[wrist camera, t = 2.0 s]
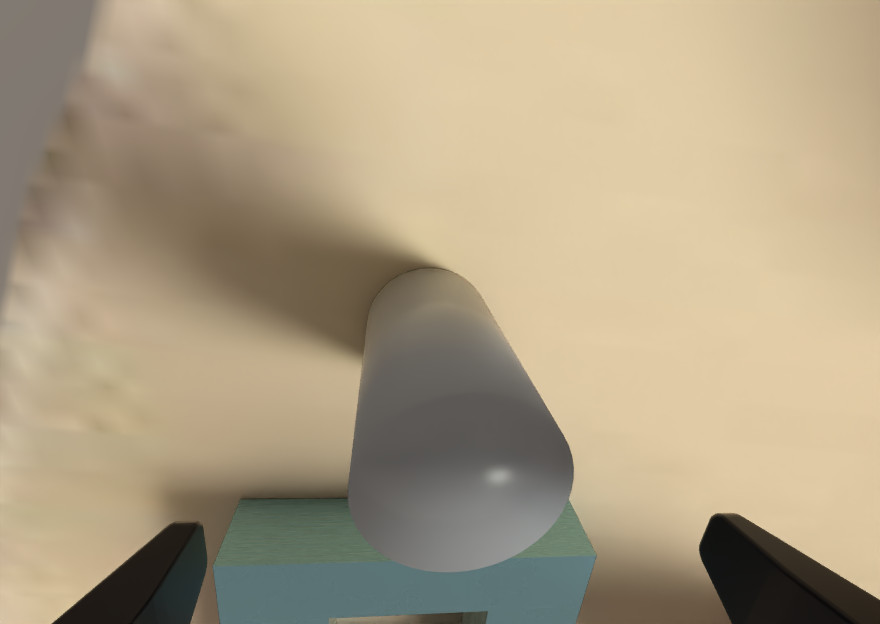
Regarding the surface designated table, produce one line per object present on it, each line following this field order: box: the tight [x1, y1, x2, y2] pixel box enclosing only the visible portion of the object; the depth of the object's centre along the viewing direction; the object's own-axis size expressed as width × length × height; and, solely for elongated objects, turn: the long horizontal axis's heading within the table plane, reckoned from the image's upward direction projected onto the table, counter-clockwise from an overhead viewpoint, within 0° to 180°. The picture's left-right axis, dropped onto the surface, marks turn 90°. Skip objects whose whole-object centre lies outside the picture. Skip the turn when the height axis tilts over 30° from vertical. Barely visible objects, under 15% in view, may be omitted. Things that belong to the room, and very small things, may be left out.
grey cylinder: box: [348, 268, 574, 572], centre depth 12 cm, size 4×4×8 cm
